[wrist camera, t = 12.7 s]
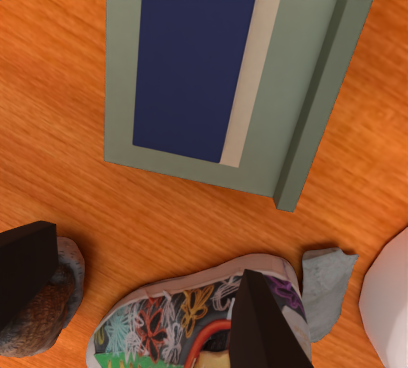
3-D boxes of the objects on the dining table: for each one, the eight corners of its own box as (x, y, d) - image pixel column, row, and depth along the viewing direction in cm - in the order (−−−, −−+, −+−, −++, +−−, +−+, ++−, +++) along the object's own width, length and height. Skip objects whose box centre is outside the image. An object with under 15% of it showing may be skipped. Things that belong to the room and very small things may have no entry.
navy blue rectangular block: (225, 147, 14) (220, 169, 10) (159, 133, 14) (128, 149, 10) (268, -52, 10) (289, -142, 6) (180, -66, 10) (146, -162, 6)
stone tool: (280, 339, 21) (325, 326, 23) (291, 358, 20) (339, 342, 21) (297, 242, 18) (348, 233, 19) (312, 255, 16) (367, 245, 18)
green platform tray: (124, 151, 18) (89, 168, 14) (136, -100, 12) (86, -197, 8) (279, 184, 17) (293, 213, 13) (362, -65, 12) (430, -151, 8)
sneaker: (83, 310, 25) (-4, 434, 16) (265, 224, 19) (296, 346, 10) (127, 355, 27) (72, 489, 17) (307, 290, 20) (366, 446, 11)
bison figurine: (87, 320, 25) (1, 450, 16) (26, 297, 25) (-95, 415, 16) (105, 234, 21) (0, 348, 12) (31, 206, 21) (-134, 298, 12)
